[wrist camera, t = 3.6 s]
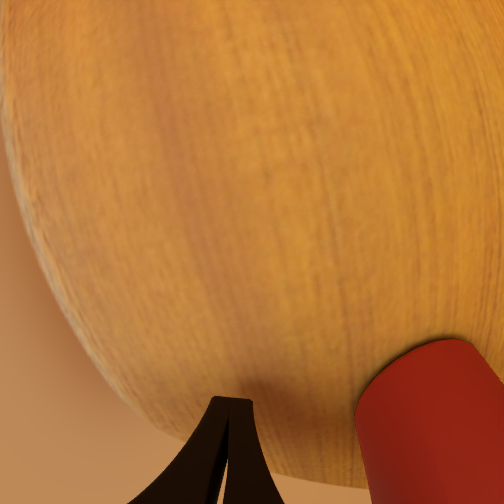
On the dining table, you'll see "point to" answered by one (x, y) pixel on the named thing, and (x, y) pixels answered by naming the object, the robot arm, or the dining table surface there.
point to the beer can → (434, 428)
